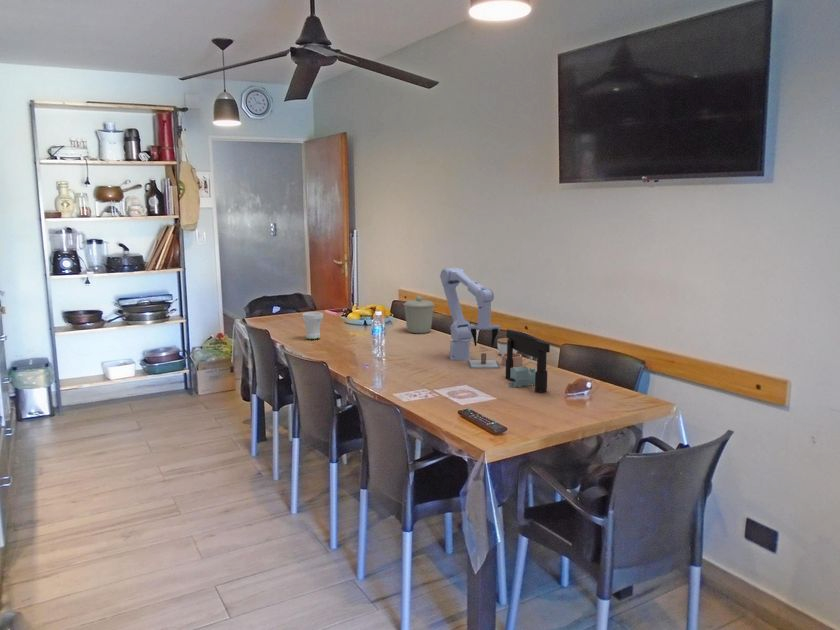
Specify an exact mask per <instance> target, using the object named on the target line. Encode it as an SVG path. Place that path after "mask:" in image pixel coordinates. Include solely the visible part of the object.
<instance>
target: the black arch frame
mask: <svg viewBox="0 0 840 630" xmlns="http://www.w3.org/2000/svg"><path fill="white" fill-rule="evenodd" d="M506 338H509V339H508V340H507V359H506V366H505V379H507V380H508V382H510V383H508V387H511V388H516V387H517V388H522V387H530V386H534V392H536V393H537V392H538V393H545V392H547V391H548V370H547V354H548V353H550V347H551V346H550V344H551V343H549V342H547V341H545V340H543V339H541V338H538V337H536V336H533V335H531V334H529V333H526V332H523V331H519V330H514V329H509V328H507V329H506ZM513 349H515V350H517V351H518V352H520V353H522V354H524V355H527V356H528V357H532V358H535V359H536V368H535V367H529V368H528V367H527V366H525V365H524V366H517V367H513V362H514V361H513ZM532 384H534V385H532ZM525 385H526V386H525Z"/></svg>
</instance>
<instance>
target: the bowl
mask: <svg viewBox="0 0 840 630" xmlns="http://www.w3.org/2000/svg"><path fill="white" fill-rule="evenodd" d="M500 355H501V357H500V359H501V363H500V364H501V365H502V366H505V367H506V359H507V353H505V354H500ZM513 361H514V362H513V368H514V367H522V365H523V355H522V354H520V353H513Z"/></svg>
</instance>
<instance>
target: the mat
mask: <svg viewBox="0 0 840 630" xmlns="http://www.w3.org/2000/svg"><path fill="white" fill-rule="evenodd" d="M466 361H467V365H468V368H469V369H476V370H477V369H481V370H482V369H488V370H489V369H490V368H471V365H470V362H469V360H466ZM495 361H496V363H497V365H498V368H497V369H501V366H500V364H499V362H498V361H497V360H495Z"/></svg>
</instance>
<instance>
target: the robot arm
mask: <svg viewBox="0 0 840 630" xmlns="http://www.w3.org/2000/svg"><path fill="white" fill-rule="evenodd" d="M439 278H440V282H441V285H442V287H443V291H444V294H445V298H446V301H447V304H448V308H449V312H450V314H451V319H452V321H453V323H452V324H451V325H450V327H449V328H450V329H449V330H450V337H451V339H452V340H450V341H449V342H450V343H449V358H450V359H449V360H450V361H469V360H472V359H471V355H470V345H471V342H470V341H472V339H473V343H474V344H473V345H474V346H475V347H476V346H477V344H478V343H477V331H491V343H490V344H491V346H492V347H494V345H495V344H494V343H495V340H496V337H498V336H497V335H498V333H499V331H501V325H497V324H492V323H491V320H492V302H493V300H494V299H495V298H494V297H495V294H494V291H493V290H492V289H491V288H485V286H483V285H482V284H481V283H480V282H479V281H478V280H472V279H471V278H470V277H469V276H468V275H467V274H466V273H465V270H464V269H463V268H462V267H460V266H459V267H450V268H449V267H445V268H443V269H442V270H441V271H440V275H439ZM460 283H461V284H463V285H464V286H466V287H467V291H468V292H469V293H470V294H472V295H473V296H474V297H475V300H476V306H477V307H478V308H477V324H470V321H468V320H467V319H465V317H464V314H463V311H462V306H461V304H460V300H459V296H458V293H457V290H456V288H457V287H458V286H459V285H460Z"/></svg>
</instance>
